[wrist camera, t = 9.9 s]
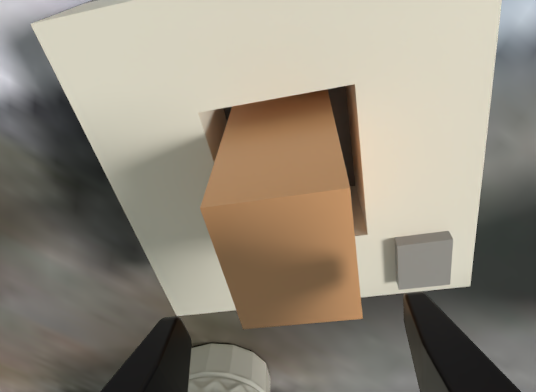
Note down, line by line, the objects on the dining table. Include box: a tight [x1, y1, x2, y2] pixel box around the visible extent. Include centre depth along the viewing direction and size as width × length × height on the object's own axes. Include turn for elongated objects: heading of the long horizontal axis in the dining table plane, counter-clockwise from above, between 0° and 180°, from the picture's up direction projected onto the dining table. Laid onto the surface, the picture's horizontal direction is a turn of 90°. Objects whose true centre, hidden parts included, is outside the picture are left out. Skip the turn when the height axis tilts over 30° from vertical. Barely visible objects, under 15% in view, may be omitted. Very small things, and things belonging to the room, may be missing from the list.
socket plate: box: [31, 0, 502, 316], centre depth 16 cm, size 13×13×5 cm
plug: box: [200, 89, 363, 329], centre depth 14 cm, size 4×4×8 cm
